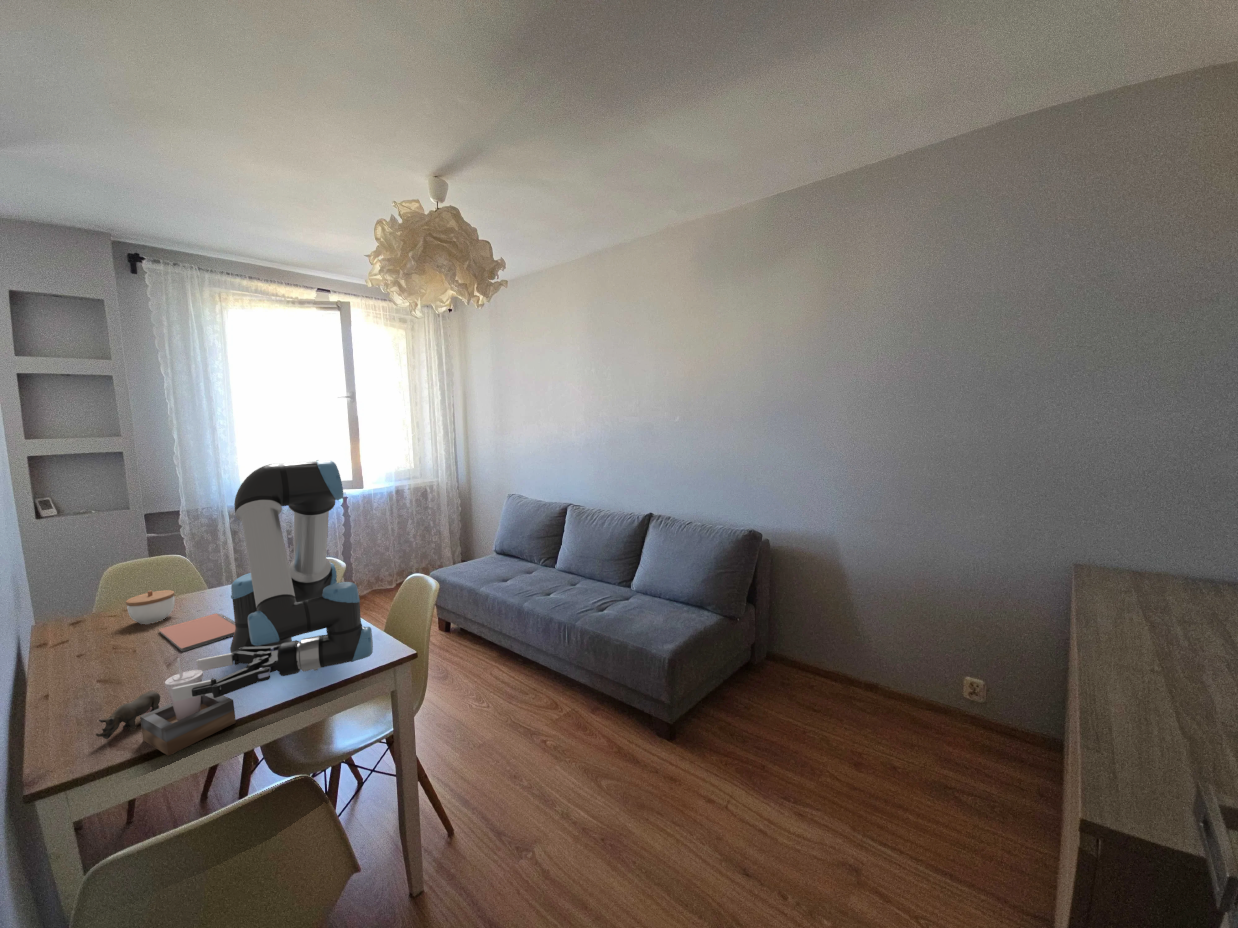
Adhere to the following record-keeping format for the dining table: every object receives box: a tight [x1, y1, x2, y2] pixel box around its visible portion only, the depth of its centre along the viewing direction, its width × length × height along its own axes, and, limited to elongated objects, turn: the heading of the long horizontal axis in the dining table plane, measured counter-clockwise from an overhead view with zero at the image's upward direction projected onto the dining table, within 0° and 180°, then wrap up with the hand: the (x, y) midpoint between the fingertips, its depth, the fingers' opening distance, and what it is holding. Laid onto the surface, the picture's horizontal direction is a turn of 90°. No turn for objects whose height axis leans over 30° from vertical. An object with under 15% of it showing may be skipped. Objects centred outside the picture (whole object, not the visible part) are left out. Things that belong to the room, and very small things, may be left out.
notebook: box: [158, 612, 235, 652], centre depth 162 cm, size 27×17×2 cm, turn 55°
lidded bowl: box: [125, 589, 176, 625], centre depth 174 cm, size 13×13×11 cm
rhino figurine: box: [95, 690, 161, 740], centre depth 109 cm, size 4×14×6 cm, turn 177°
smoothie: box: [164, 657, 205, 721], centre depth 106 cm, size 6×6×14 cm
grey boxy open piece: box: [139, 693, 237, 757], centre depth 107 cm, size 12×12×6 cm
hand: (186, 679), depth 106 cm, fingers open, 13 cm apart
